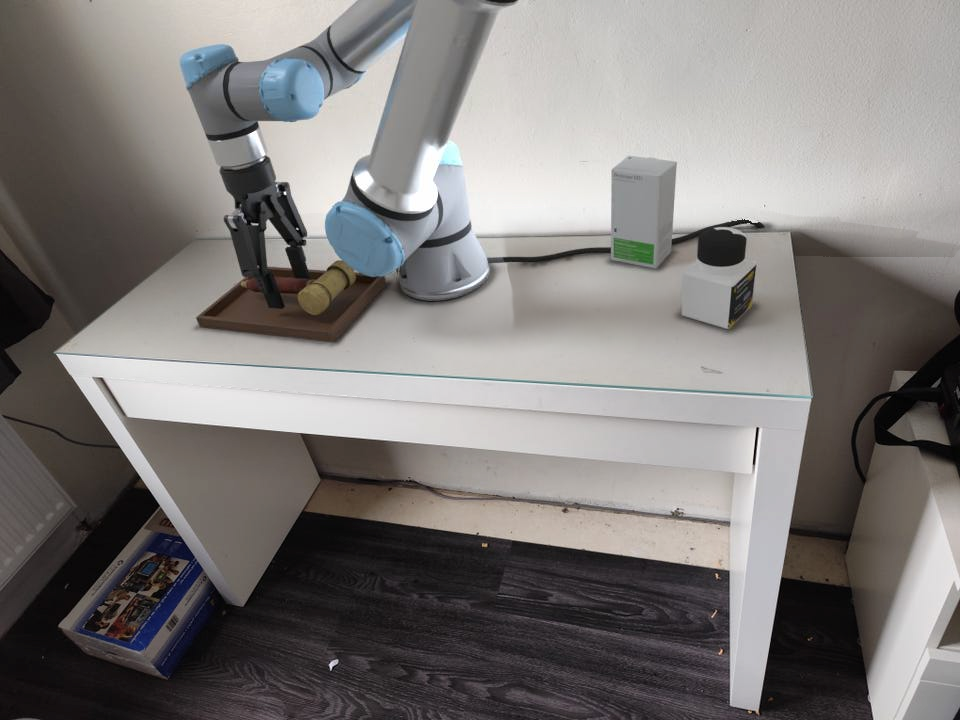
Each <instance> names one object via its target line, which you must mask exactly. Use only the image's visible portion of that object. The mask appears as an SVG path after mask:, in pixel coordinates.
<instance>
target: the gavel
mask: <svg viewBox="0 0 960 720" xmlns="http://www.w3.org/2000/svg"><path fill="white" fill-rule="evenodd" d="M355 273H356V271H355V270H354V269H352V268H351V267H349V266H348V265H347V264H345V263H344V262H343V261H342V260H341V259H339V260H335V261H333V262H332V263H331V264H330V265H329V266H328V267H327V268H326V272H325V273H324V274H323V275H322V276H321V277H320V278H318V279H317V280H308V279H297V278H275V281H276V283H277V286H278V289H279V292H280V293H286V294H298V301H299V303H300V305H301V307H302V308H303V309H304V310H305V311H306V312H308V313H309V314H312V315H320V314H321V313H322V312H323V311H324V310H325V309H326V308H327V307H328V306H329V303H330V302H331V301H332V300H333V299H334V298H335V297H336V296H337V295H338V294H339V293H341V292H342V291H343V290H346V289H347V288H349V287H350V286H351V285H352V284H353V283H354V282H355V280H356V274H355ZM241 286H242V287H245V288H246V289H249V290H251V291H253V292H260V290H259V287H258V285H257V282H256V279H255V278H252V279H250V280H247V281H245V282H242V283H241Z"/></svg>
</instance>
